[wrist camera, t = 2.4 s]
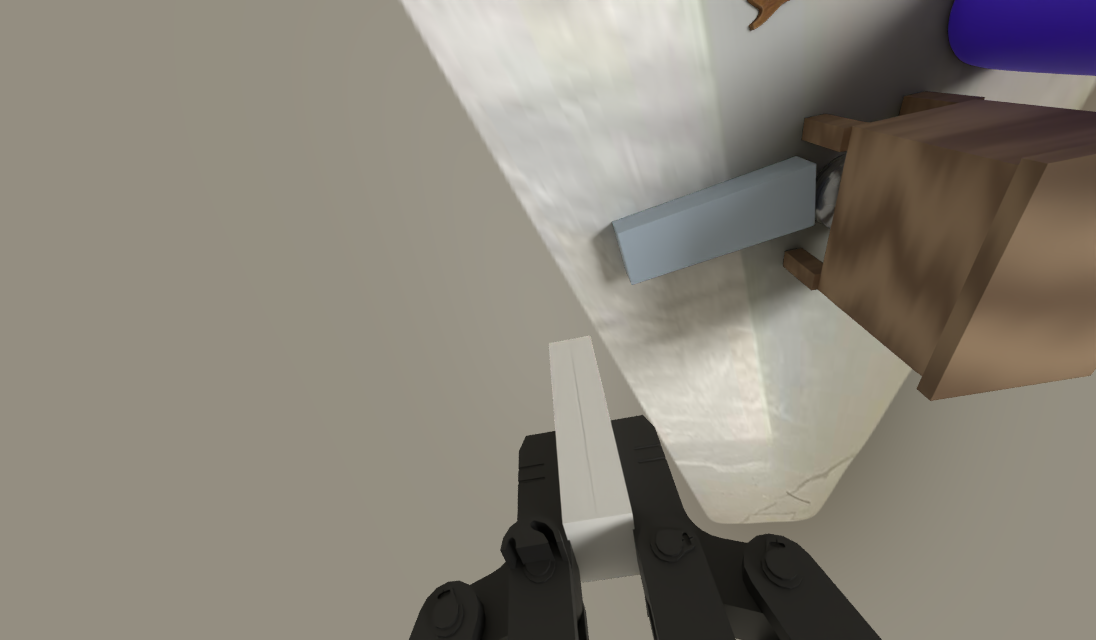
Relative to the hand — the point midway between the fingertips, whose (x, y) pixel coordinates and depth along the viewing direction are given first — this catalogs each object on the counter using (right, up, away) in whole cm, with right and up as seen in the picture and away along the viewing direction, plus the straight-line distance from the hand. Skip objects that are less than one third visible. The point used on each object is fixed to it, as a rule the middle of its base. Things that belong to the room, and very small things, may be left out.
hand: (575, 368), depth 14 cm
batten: (+12, +11, +19) cm, 25 cm away
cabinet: (+24, +13, +18) cm, 32 cm away
